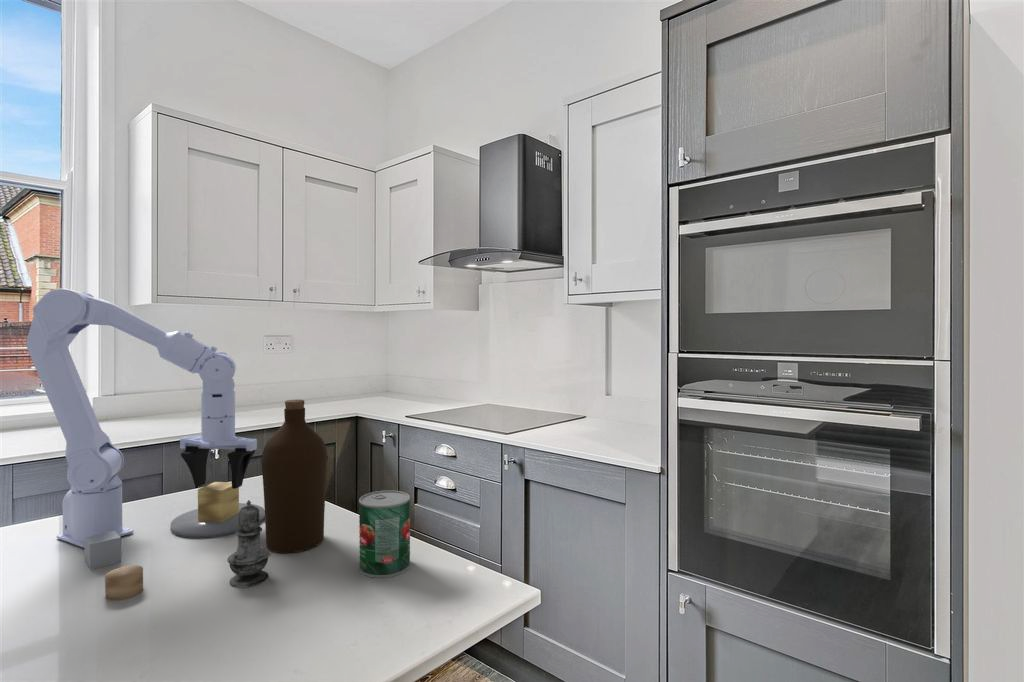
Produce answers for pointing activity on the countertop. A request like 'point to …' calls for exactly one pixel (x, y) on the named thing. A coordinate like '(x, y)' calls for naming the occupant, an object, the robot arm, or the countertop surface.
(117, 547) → the slate grey block
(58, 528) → the countertop surface
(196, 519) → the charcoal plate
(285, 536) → the olive oil
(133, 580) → the oak cylinder
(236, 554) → the salt shaker
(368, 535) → the canned tomato
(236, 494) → the ochre block
